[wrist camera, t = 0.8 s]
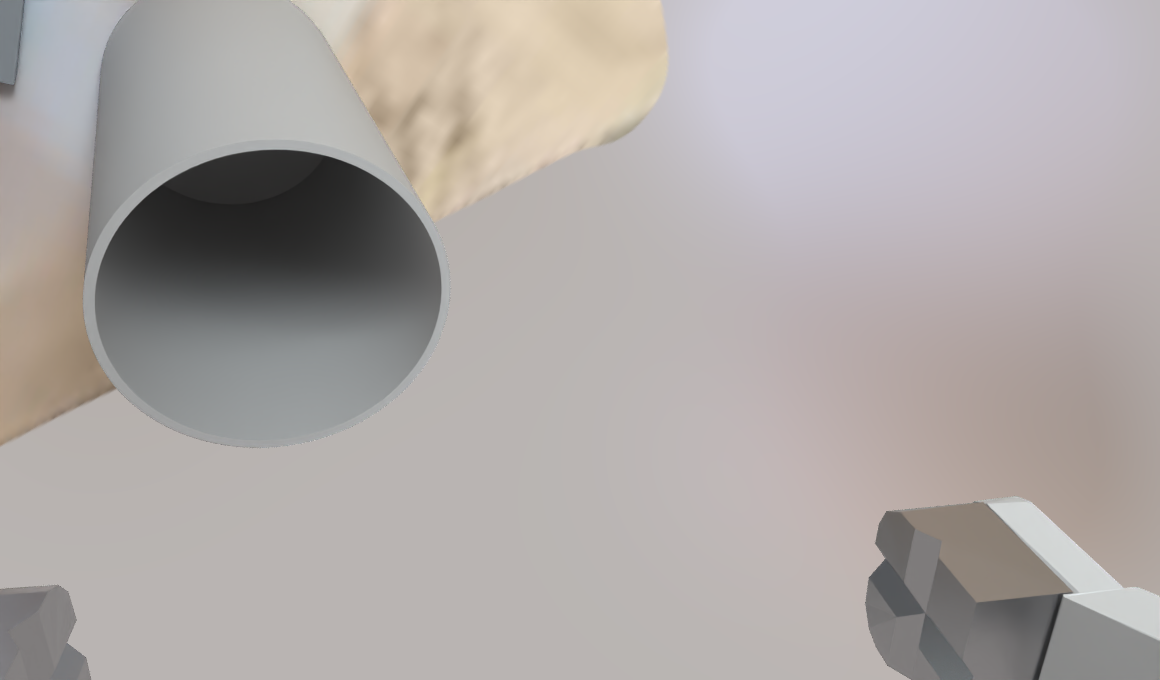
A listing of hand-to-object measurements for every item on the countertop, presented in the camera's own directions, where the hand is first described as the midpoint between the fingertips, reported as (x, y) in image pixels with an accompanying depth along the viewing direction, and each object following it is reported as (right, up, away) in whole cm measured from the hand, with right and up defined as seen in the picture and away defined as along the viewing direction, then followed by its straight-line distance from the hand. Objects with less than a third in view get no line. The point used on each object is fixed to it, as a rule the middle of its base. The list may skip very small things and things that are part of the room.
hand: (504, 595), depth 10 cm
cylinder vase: (-19, +17, +44) cm, 51 cm away
